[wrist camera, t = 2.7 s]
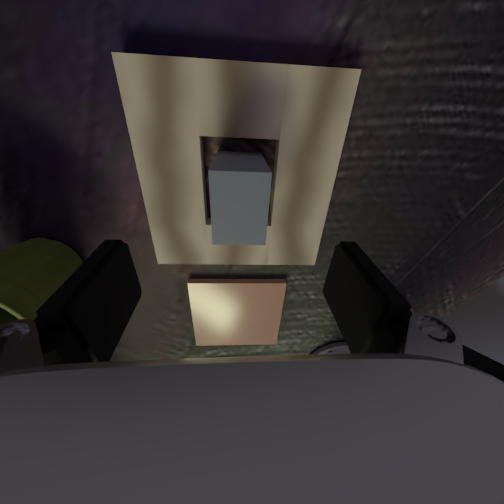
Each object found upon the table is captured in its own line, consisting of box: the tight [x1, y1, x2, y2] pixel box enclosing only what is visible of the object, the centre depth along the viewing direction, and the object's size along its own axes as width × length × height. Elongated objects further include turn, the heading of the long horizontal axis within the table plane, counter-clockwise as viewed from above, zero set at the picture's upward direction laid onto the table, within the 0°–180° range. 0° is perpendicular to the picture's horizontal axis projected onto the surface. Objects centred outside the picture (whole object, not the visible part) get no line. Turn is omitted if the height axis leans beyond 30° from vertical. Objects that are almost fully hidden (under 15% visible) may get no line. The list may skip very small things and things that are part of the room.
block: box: [208, 151, 272, 245], centre depth 21 cm, size 4×6×9 cm
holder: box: [111, 52, 361, 265], centre depth 24 cm, size 20×20×2 cm
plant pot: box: [0, 237, 83, 325], centre depth 24 cm, size 12×12×11 cm
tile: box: [187, 279, 287, 346], centre depth 36 cm, size 14×14×1 cm
